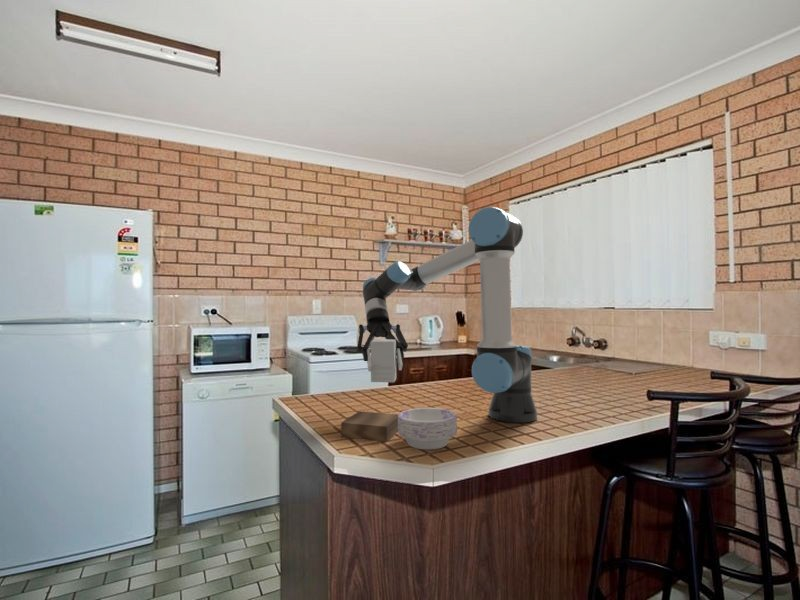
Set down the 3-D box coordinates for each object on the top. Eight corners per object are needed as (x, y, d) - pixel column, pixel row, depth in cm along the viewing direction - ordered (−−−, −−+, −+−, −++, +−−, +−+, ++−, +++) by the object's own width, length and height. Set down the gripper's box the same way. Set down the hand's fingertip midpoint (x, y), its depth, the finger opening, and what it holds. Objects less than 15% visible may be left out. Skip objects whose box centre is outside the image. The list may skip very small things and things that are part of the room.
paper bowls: (391, 438, 115) (391, 408, 115) (443, 433, 119) (443, 405, 119) (407, 457, 100) (407, 423, 101) (466, 451, 105) (466, 419, 105)
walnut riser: (401, 428, 124) (401, 414, 124) (386, 442, 111) (386, 426, 112) (359, 424, 128) (359, 411, 128) (341, 437, 115) (341, 422, 115)
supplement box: (396, 378, 136) (396, 339, 136) (394, 383, 129) (394, 341, 129) (374, 378, 137) (374, 338, 137) (369, 382, 130) (370, 340, 130)
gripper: (406, 321, 150) (417, 374, 135) (344, 322, 146) (349, 376, 130) (409, 307, 145) (422, 359, 130) (346, 306, 141) (351, 361, 125)
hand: (385, 368), depth 130 cm, fingers closed on supplement box, 9 cm apart
